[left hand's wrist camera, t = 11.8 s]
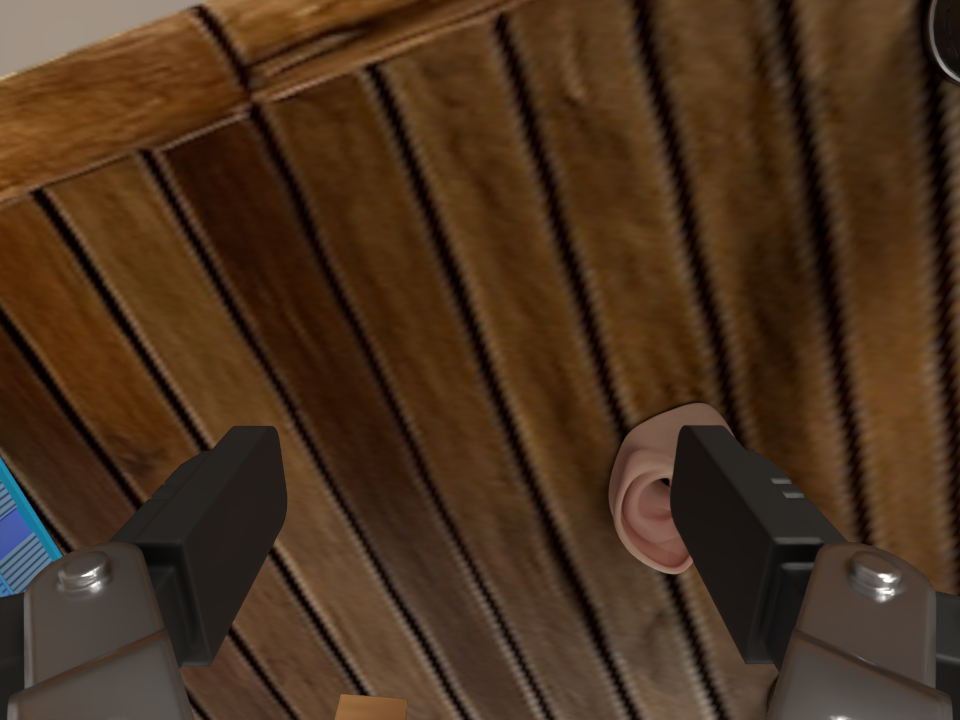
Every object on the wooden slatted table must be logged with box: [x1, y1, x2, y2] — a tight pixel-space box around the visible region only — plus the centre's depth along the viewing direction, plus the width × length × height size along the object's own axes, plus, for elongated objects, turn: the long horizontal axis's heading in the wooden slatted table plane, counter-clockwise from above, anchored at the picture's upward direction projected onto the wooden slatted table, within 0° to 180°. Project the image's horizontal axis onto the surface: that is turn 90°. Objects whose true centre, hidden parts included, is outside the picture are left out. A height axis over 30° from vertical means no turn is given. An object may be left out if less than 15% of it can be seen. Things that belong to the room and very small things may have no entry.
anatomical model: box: [609, 403, 734, 574], centre depth 46 cm, size 13×4×12 cm
